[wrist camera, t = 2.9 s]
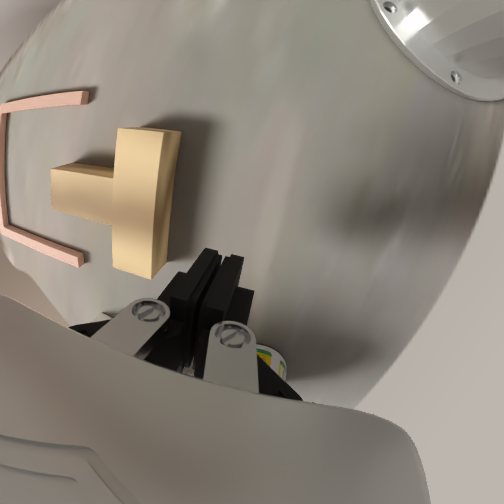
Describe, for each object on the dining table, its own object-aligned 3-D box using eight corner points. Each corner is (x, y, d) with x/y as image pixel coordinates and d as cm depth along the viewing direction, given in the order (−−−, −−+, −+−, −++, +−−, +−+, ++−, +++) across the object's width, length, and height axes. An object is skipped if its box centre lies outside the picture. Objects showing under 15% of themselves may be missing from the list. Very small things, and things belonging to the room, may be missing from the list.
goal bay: (4, 104, 15) (-2, 104, 14) (89, 91, 14) (82, 90, 14) (5, 231, 21) (1, 233, 20) (84, 263, 20) (78, 267, 20)
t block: (76, 124, 15) (53, 126, 13) (181, 131, 15) (163, 132, 13) (74, 234, 19) (54, 245, 17) (166, 262, 19) (151, 279, 17)
